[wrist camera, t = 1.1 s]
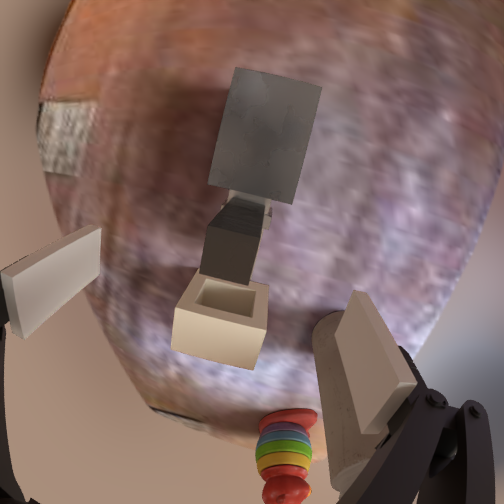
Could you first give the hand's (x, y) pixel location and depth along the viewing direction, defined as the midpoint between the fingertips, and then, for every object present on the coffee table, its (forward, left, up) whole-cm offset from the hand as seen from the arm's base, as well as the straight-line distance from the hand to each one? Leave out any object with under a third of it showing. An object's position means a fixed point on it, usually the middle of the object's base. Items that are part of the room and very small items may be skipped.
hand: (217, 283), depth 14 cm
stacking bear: (+36, +15, -21) cm, 44 cm away
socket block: (+12, 0, -21) cm, 24 cm away
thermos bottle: (+14, +16, -21) cm, 30 cm away
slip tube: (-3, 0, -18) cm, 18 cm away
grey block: (-8, 0, -21) cm, 22 cm away
